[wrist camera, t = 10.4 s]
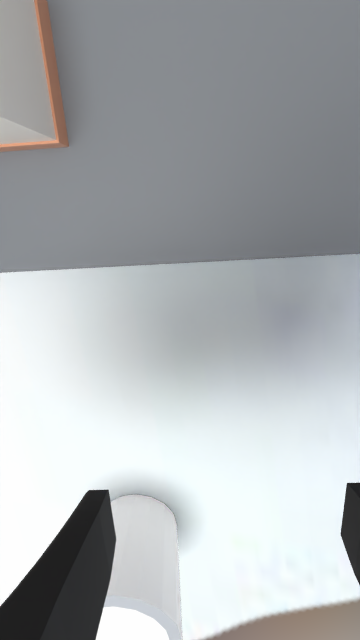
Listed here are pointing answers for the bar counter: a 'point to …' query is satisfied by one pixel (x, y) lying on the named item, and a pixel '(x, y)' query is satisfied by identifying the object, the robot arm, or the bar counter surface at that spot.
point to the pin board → (192, 136)
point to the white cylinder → (143, 573)
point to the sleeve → (29, 79)
